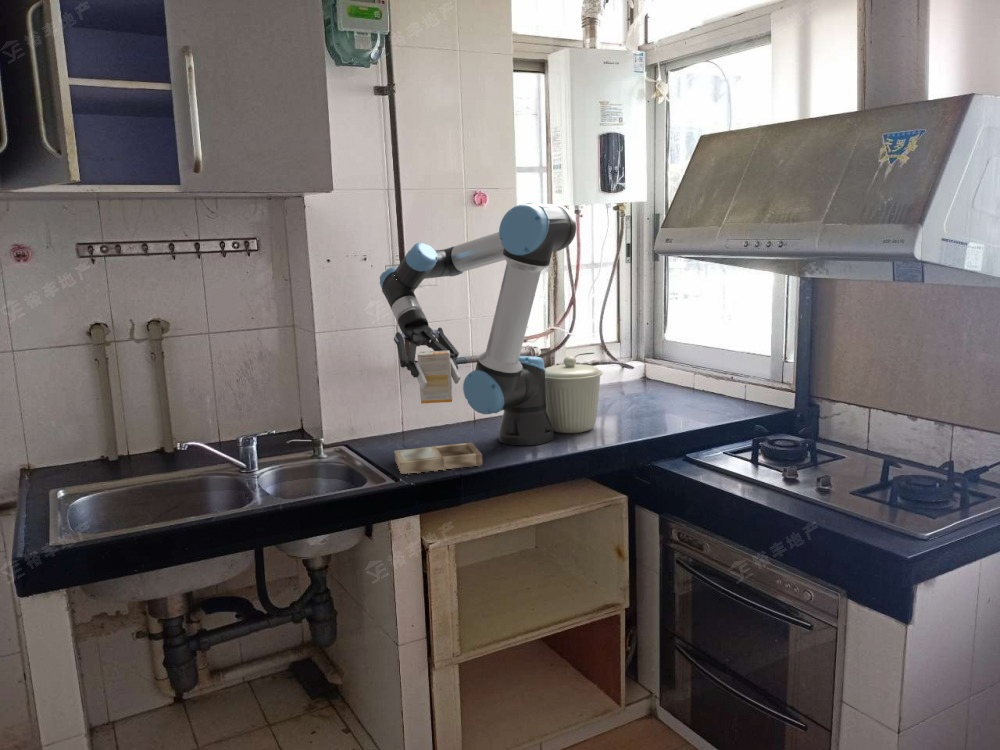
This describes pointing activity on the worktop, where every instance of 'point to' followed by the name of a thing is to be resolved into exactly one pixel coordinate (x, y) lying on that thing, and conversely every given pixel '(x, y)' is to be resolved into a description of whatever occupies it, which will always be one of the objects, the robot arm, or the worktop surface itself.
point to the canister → (572, 396)
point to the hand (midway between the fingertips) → (441, 383)
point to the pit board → (437, 458)
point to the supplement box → (436, 376)
